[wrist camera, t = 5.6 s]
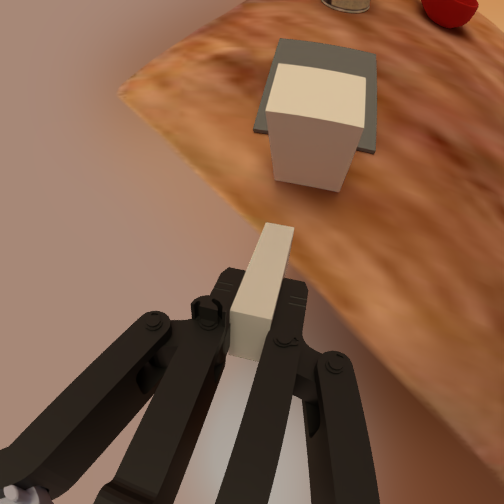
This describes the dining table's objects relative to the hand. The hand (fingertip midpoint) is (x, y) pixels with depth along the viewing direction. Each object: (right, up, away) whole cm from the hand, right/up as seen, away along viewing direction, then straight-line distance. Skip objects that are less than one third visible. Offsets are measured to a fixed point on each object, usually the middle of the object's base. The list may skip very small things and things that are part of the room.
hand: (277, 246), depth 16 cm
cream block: (+6, +11, +20) cm, 23 cm away
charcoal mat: (+9, +24, +22) cm, 33 cm away
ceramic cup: (+39, +52, +24) cm, 70 cm away
